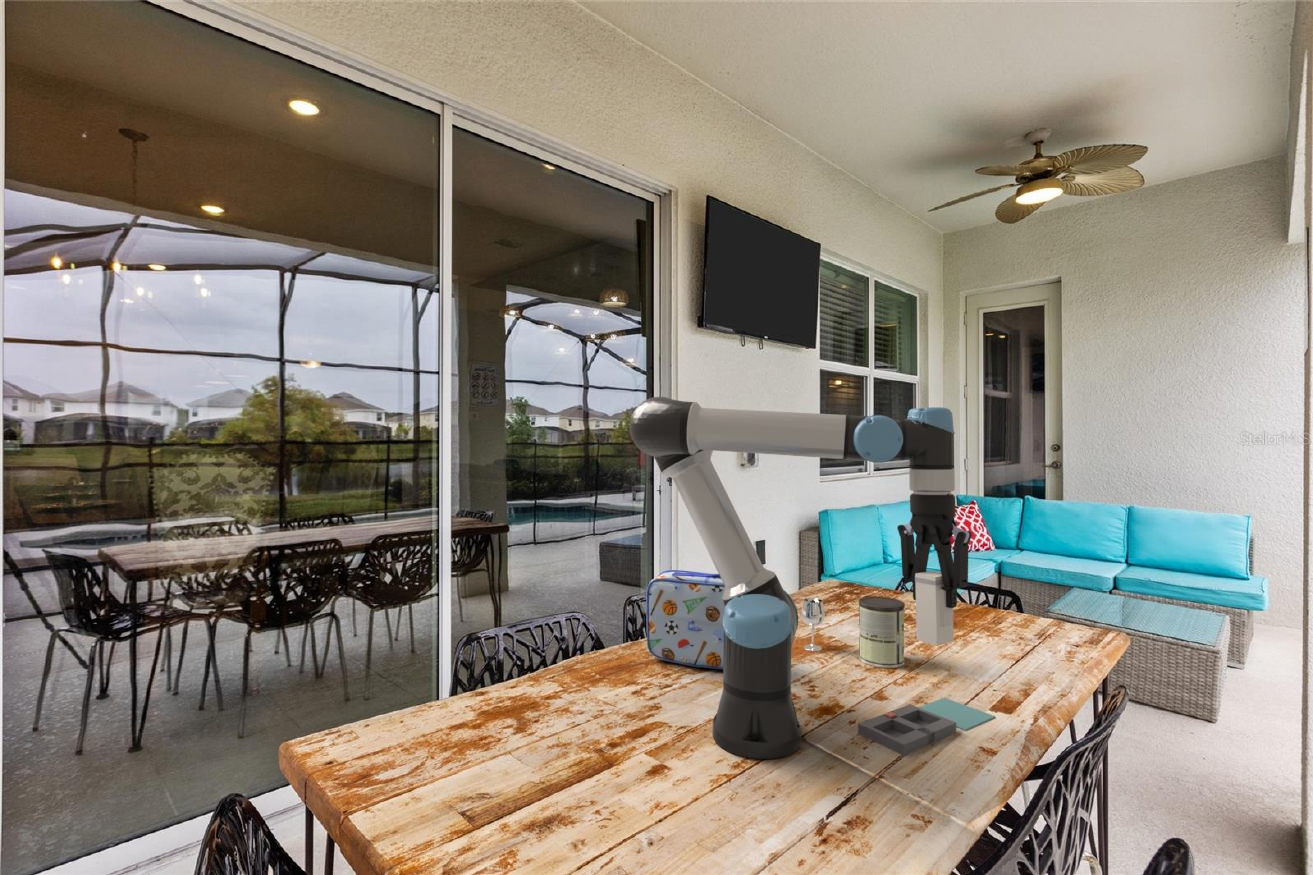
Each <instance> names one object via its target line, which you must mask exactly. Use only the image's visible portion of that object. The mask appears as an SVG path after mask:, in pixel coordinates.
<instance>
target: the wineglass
mask: <svg viewBox="0 0 1313 875" xmlns="http://www.w3.org/2000/svg"><path fill="white" fill-rule="evenodd" d="M800 613H801V614H800V616H801V619H802V621H803V622H804V624H806V625H807V626H810V627H811V628H810V632H811V643H810V644H806V645H804V646H803V649H804V650H807V651H810V652H820V651H822V650H823V648H822V646H819V645H816V644H815V639H814V638H815V632H816V629H815V627H817V626H820V625H821V624H823V622H824V621H825V616H826V615H825V613H826V611H825V606H824V602H823V600H822V599H820V598H815V597H814V598H813V597H806V598H803V600H802V605H801V610H800Z"/></svg>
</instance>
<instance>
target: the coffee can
mask: <svg viewBox="0 0 1313 875" xmlns="http://www.w3.org/2000/svg"><path fill="white" fill-rule="evenodd" d="M858 605H859V606H858V608H859V609H858V613H859V614H858V617H859V618H858V622H859V623H858V629H859V630H858V632H859V634H858V637H859V641H858V643H859V645H858V648H859V649H858V651H859V652H858V654H859V655H858V659H859V661H861V663H863V664H865V665H868V666H871V667H875V668H883V669H896V668H901V667H903V666H904V665H905V602H903V601H902V600H900V599H896V598H893V597H886V596H863V597H861V598H859V599H858Z"/></svg>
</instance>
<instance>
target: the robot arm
mask: <svg viewBox="0 0 1313 875" xmlns="http://www.w3.org/2000/svg"><path fill="white" fill-rule="evenodd" d="M629 433H630V438H631V439H632V441H633V444H634V445H635V446H636V448H638V449H639V450H640V451H641V452H643V453H644V454H646V455H648V456H651V457H653V458H654V460H655V462H656V464H657V466H658V468H659V470H660V472H661V474H662V475H664V476H665V477H669V478H670V479H671V480H673V482H674V484H675V486H676V489H677V491H678V492H679V494H680V496H681V499H682V500H683V503H684V505H685V506H686V509H687V511H688V513H689V515H690V517H691V519H692V521H693V524H694V526H695V527H696V530H697V532H698V533H699V536H700V538H701V540H702V543H703V544H704V546H705V548H706V550H707V553H708V555H709V556H710V559H711V560H712V564H713V565H714V567H715V569H716V571H717V574H719V575H720V577H721V579H722V581H723V584H724V586H725V590H724V593H723V596H722V599H723V601H724V603H725V605H726V607H725V610H724V617H723V629H724V659H723V677H722V678H723V679H722V681H723V682H722V684H723V686H722V693H721V696H720V700H719V704H718V708H717V711H716V714H715V715H714V717H713V722H712V738H713V740H714V741H715V743H716V744H717V745H718V746H719V747H721V748H722V749H724V750H725V751H727V752H729V753H732V754H733V755H737V756H740V757H744V758H745V757H746V758H750V759H760V760H761V759H762V760H768V759H769V760H770V759H780V758H784V757H787V756H790V755H791V754H794V753H795V752H797V751H798V750H799V748H801V745H802V727H801V724H800V722H799V720H798V716H797V711H796V708H795V705H794V702H793V701H794V700H793V697H792V649H793V644H794V640H795V636H796V634H797V630H798V626H799V615H798V614H799V612H798V609H797V605H796V603H795V601H794V599H793V598H792V596H791V595H790V594H789V593H788V592H787V591H786V590H785V589H784V587H783V586H782V584H781V582H780V580H779V578H778V576H777V574H776V573H775V572H774V571H772V570H769V569H767V568H765V567H764V565H763V564H762V561H761V559H760V558H759V556H758V553H757V550H756V549H755V547H754V545H753V543H752V541H751V539H750V537H749V535H748V533H747V531H746V529H745V527H744V525H743V522H742V520H741V519H740V517H739V514H738V513H737V511H736V509H735V507H734V505H733V503H732V500H731V499H730V497H729V495H728V493H727V491H726V488H725V487H724V485H723V484H724V483H722V481H721V479H720V476H719V475H718V473H717V471H716V468H715V466H714V465H713V463H712V460H711V457H712V456H713V452H716V451H717V452H733V453H748V454H760V455H761V454H762V455H776V456H791V457H793V456H794V457H806V458H807V457H809V458H822V459H823V458H824V459H834V460H836V459H838V460H840V459H841V460H846V461H857V462H862V461H865V462H871V463H886V462H889V461H895V460H896V461H908V463H909V466H908V467H909V480H908V481H909V490H910V491H912V493H911V494H910V495H909V512H910V513H911V518H910V521H909V522H908V523H906V524H898V525H897V532H898V534H899V536H900V551H901V552H900V553H901V556H900V557H901V572H902V577H903V578H904V579H908V580H910V581H911V583H912V599H913V601H916V585H915V574H916V573H921V572H927V569H928V568H927V567H928V562H929V556H930V551H931V548H932V546H933V548H934V549H933V550H934V551H935V552H936V554H937V559H938V564H939V569H940V572H941V575H942V580H943V585H944V587H941V588H942V589H940V626H942V627H946V626H950V625H953V626H954V608H957V605H958V594H957V593H958V589H960V588H964V587H967V586H968V585H969V544H970V542H971V539H972V537H973V532H971V531H970V530H963V529H962V528H960V527H958V524H957V522H956V520H955V515H956V496H955V495H954V494H953V493H952V492H954V491H955V490H956V488H955V487H956V485H955V484H956V482H955V481H956V480H955V479H956V478H955V472H956V471H955V434H956V433H955V429H954V418H953V412H952V411H951V409H949V408H947V407H935V406H933V407H917V408H916V407H915V408H911V409H909V411H908V413H907V418H903V419H894V418H891V417H888V416H887V415H881V414H872V415H854V414H853V415H846V414H837V413H836V414H833V413H813V412H812V413H811V412H792V411H791V412H790V411H773V410H754V409H753V410H749V409H730V408H713V407H712V408H710V407H702V406H701V405H700V404H699V403H698V402H696V401H683V400H677V399H673V398H669V397H666V396H655V397H650V398H647V399H645V400H643V401H642V402H640V403H639V404H638V406H636V407H635V409H634V411H633V412H632V415H631V417H630V420H629ZM914 534H915V535H916V536H914ZM952 536H953V537H952ZM951 538H952V539H953V540H954V541H953V542H954V543H953V546H952V541H951ZM952 549H953V553H952Z"/></svg>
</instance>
